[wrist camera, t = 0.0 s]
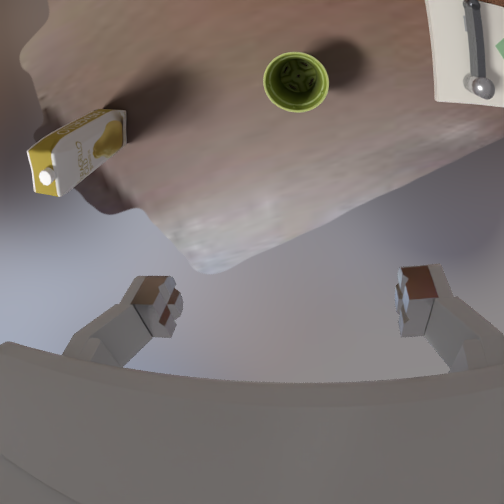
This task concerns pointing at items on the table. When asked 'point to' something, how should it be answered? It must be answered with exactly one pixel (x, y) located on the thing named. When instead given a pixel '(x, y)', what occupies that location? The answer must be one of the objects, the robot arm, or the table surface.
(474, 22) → the grey lever handle
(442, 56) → the dial board
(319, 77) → the plant pot
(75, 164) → the juice carton
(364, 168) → the table surface
